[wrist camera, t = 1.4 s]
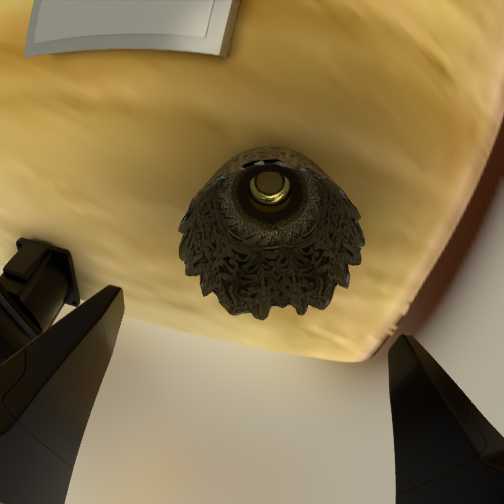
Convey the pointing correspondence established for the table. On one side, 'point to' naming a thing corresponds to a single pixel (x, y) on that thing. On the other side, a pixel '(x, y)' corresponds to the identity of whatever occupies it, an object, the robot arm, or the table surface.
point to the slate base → (131, 26)
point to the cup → (271, 235)
